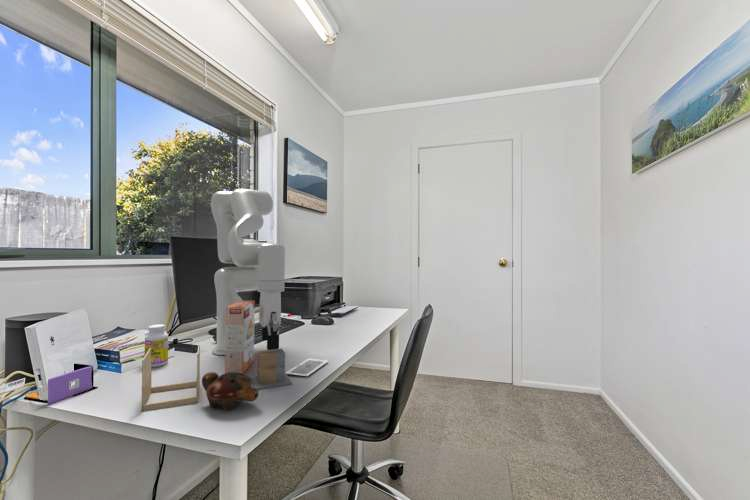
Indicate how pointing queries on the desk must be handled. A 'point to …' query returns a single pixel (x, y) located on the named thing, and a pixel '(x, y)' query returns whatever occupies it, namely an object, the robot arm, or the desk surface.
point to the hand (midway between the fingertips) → (270, 344)
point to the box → (270, 366)
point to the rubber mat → (270, 385)
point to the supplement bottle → (157, 345)
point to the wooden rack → (165, 386)
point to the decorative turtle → (228, 389)
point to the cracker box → (239, 336)
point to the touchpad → (307, 367)
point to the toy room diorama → (68, 384)
